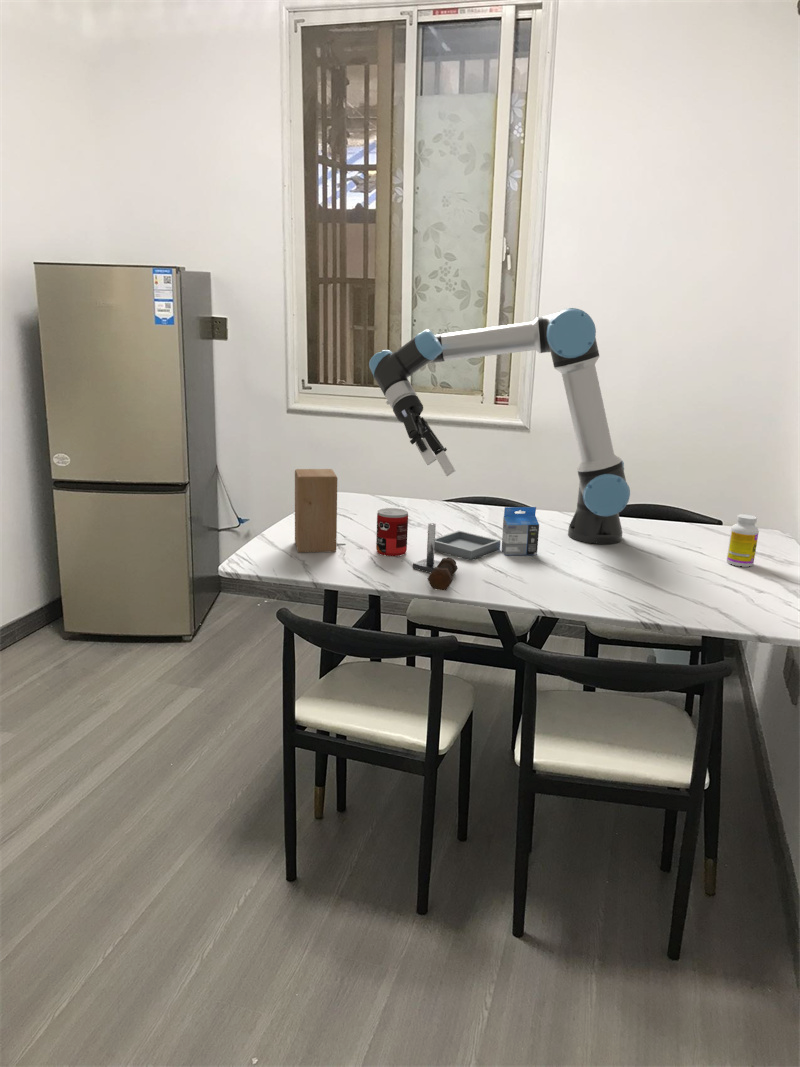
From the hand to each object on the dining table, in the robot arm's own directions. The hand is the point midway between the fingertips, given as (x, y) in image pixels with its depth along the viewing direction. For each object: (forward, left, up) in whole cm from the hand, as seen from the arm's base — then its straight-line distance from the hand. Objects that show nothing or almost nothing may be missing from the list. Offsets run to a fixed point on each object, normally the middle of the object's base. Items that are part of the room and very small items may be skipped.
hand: (441, 468), depth 201 cm
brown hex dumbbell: (-14, +16, -23) cm, 31 cm away
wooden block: (+26, +20, -23) cm, 39 cm away
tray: (-3, -7, -22) cm, 24 cm away
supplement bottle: (-61, -50, -23) cm, 83 cm away
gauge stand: (-6, +12, -22) cm, 26 cm away
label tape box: (-15, -15, -23) cm, 32 cm away
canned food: (+9, +9, -23) cm, 26 cm away
